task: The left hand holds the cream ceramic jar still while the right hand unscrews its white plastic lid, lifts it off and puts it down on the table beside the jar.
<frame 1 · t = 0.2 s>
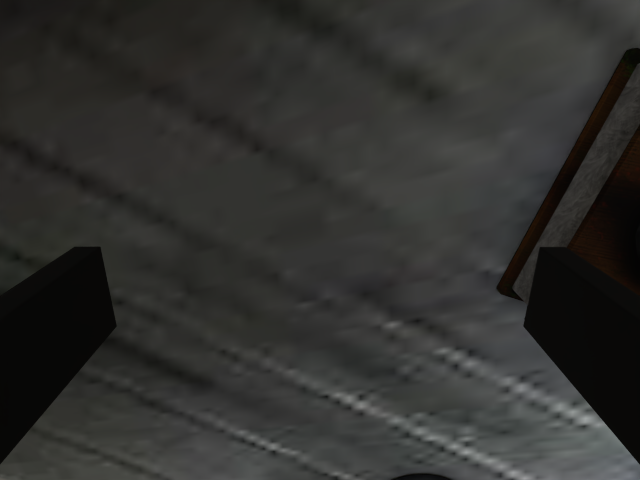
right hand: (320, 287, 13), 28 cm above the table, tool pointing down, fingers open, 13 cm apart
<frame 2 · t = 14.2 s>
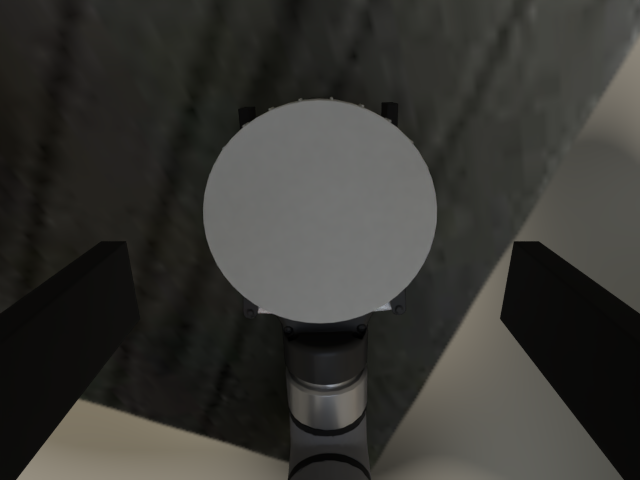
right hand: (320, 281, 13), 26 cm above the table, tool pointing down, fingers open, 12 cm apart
lid: (320, 220, 19), point 20 cm above the table, screwed on, not yet turned
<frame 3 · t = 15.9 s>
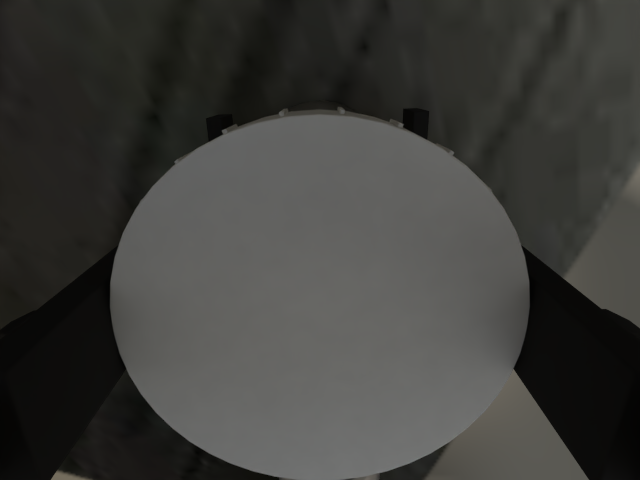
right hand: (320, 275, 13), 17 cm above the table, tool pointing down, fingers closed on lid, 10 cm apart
jar: (319, 172, 29), on the table, touching left hand
lid: (319, 323, 11), point 20 cm above the table, screwed on, not yet turned, touching right hand
when the right hand's fingers open (0 cm above the table, at t = 26.4 s): lid drops 2 cm, point 1 cm above the table.
when the left hand's fingers open (6 cm above the table, at t = 27.4 s): jar stays where it is, on the table.
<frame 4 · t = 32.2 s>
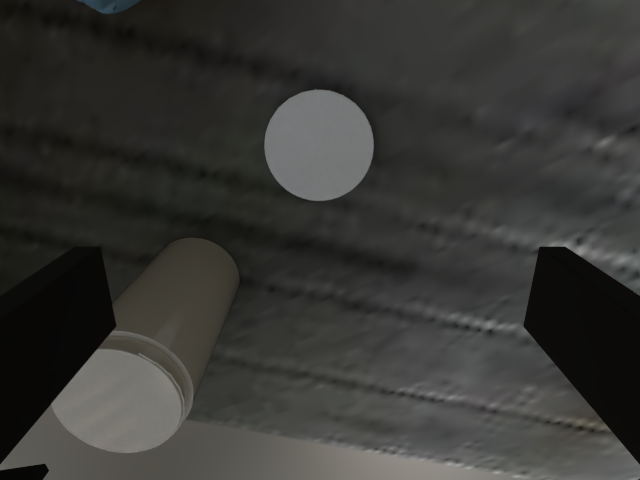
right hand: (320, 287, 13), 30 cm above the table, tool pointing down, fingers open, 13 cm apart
jar: (196, 277, 46), on the table
lid: (319, 147, 39), point 1 cm above the table, off its thread
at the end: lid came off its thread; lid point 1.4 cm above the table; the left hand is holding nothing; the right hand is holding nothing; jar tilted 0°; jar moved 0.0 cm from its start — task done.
